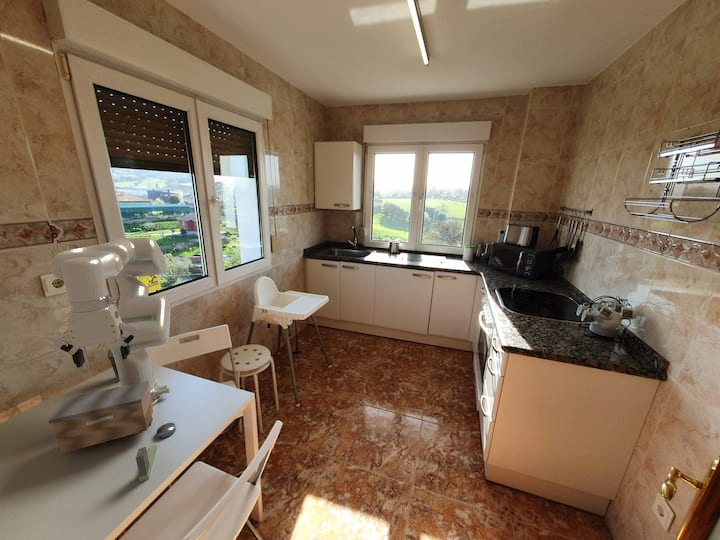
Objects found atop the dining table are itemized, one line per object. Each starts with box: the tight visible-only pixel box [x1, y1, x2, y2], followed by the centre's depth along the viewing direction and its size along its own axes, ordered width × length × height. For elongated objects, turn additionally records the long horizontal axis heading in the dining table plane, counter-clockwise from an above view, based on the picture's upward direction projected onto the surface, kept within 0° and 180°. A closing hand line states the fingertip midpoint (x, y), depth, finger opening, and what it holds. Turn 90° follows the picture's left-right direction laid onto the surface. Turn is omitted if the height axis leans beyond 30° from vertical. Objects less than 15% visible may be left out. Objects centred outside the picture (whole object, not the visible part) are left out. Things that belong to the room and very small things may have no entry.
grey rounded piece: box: [156, 422, 177, 439], centre depth 91 cm, size 5×5×2 cm
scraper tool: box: [135, 444, 158, 482], centre depth 80 cm, size 2×10×8 cm, turn 25°
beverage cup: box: [107, 348, 120, 382], centre depth 115 cm, size 7×7×20 cm
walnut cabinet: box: [47, 381, 154, 454], centre depth 86 cm, size 21×10×15 cm, turn 116°
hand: (104, 360), depth 78 cm, fingers open, 9 cm apart
